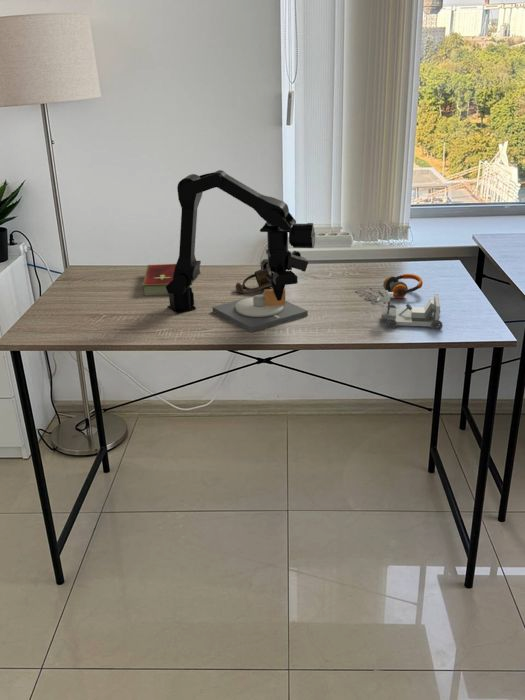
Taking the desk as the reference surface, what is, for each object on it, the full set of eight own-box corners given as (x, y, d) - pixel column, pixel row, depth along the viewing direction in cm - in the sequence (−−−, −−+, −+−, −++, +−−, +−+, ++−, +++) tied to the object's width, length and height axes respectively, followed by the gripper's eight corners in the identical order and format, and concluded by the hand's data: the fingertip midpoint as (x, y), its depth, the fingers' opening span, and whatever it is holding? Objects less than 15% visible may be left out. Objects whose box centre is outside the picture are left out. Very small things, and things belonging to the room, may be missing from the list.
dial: (235, 318, 208) (235, 299, 205) (235, 300, 220) (234, 283, 218) (286, 316, 208) (286, 297, 206) (283, 298, 221) (283, 281, 219)
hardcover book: (184, 274, 251) (183, 262, 249) (181, 295, 232) (180, 282, 230) (148, 275, 251) (147, 264, 249) (143, 297, 232) (142, 284, 230)
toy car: (377, 295, 200) (378, 281, 210) (375, 328, 204) (376, 313, 214) (444, 297, 197) (442, 283, 207) (442, 331, 201) (439, 315, 211)
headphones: (350, 283, 230) (406, 262, 233) (353, 297, 232) (408, 277, 235) (372, 300, 216) (431, 278, 219) (375, 316, 218) (433, 294, 221)
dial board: (250, 332, 202) (250, 326, 202) (212, 311, 217) (212, 306, 217) (307, 315, 213) (307, 309, 212) (267, 296, 228) (267, 291, 227)
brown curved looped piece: (276, 279, 226) (278, 263, 234) (235, 275, 227) (238, 259, 234) (274, 299, 230) (276, 282, 238) (234, 295, 231) (237, 278, 239)
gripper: (315, 252, 199) (315, 307, 204) (296, 237, 215) (297, 288, 221) (275, 256, 196) (277, 311, 202) (259, 240, 213) (261, 292, 219)
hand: (279, 300), depth 211 cm, fingers closed
